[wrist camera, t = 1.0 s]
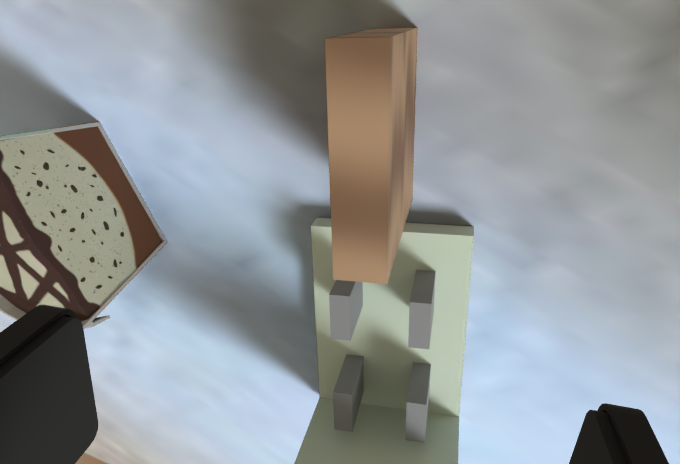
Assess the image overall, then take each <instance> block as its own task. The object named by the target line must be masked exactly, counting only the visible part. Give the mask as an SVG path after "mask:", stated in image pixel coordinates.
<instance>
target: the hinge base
mask: <svg viewBox="0 0 680 464" xmlns="http://www.w3.org/2000/svg"><path fill="white" fill-rule="evenodd" d="M473 238H474V227H471V226H454V225H437V224H420V223H405V226H404V230H403V233H402V236H401V240H400V243H399V246H398V250H397V253H396V256H395V260H394V263H393V266H392V270H391V273H390V276H389V280H388V283H387V284H379V283H367V282H356V281H344V280H333V259H332V230H331V218H319V217H317V218H316V219H315V221H314V222H313V223H312V225H311V241H312V260H313V279H314V299H315V318H316V337H317V357H318V376H319V395H320V398H319V401H318V403H317V406H316V409H315V411H314V414H313V416H312V419H311V422H310V424H309V427H308V430H307V432H306V435H305V437H304V440H303V443H302V445H301V448H300V450H299V453H298V456H297V458H296V461H295V463H294V464H458V440H459V411H460V399H461V387H462V374H463V362H464V350H465V337H466V325H467V313H468V300H469V288H470V276H471V263H472V251H473Z"/></svg>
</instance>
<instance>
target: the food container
mask: <svg viewBox="0 0 680 464" xmlns="http://www.w3.org/2000/svg"><path fill="white" fill-rule="evenodd" d="M166 243H167V241H166V239H165V237H164V235H163V233H162V232H161V230H160V228H159V226H158V225H157V223H156V221H155V219H154V218H153V216H152V214H151V212H150V210H149V209H148V207H147V205H146V203H145V202H144V200H143V198H142V196H141V194H140V193H139V191H138V189H137V187H136V186H135V184H134V182H133V180H132V178H131V177H130V175H129V173H128V171H127V170H126V168H125V166H124V164H123V163H122V161H121V159H120V157H119V155H118V154H117V152H116V150H115V148H114V147H113V145H112V143H111V141H110V139H109V138H108V136H107V134H106V132H105V131H104V129H103V127H102V125H101V123H100V122H95V123H88V124H81V125H74V126H67V127H60V128H53V129H46V130H39V131H32V132H25V133H18V134H11V135H4V136H0V311H2V312H3V313H4V314H6V315H8V316H10V317H12V318H13V319H15V320H18V319H20V318H21V317H22V316H24V315H25V314H26V313H28V312H29V311H30V310H32V309H33V308H35V307H37V306H39V305H49V306H55V307H60V308H66V309H70V310H72V311H73V312H74V313H75V314H76V318H77V319H80V321H81V322H82V325H83V329H84V328H89V327H93V326H95V325H97V324H99V323H101V322H103V321H105V320H106V319H108V318H110V316H109V315H108V316H103V317H99V318H96V317H97V316H98V315H99V314H100V312H101V311H102V310H103V309H104V308H105V307H106V306H107V305H108V304H109V303H110V302H111V301H112V300H113V299H114V298H115V297H116V296H117V295H118V294H119V292H120V291H121V290H122V289H123V288H124V287H125V286H126V285H127V284H128V283H129V282H130V281H131V280H132V279H133V278H134V277H135V276H136V275H137V274H138V272H139V271H140V270H141V269H142V268H143V267H144V266H145V265H146V264H147V263H148V262H149V261H150V260H151V259H152V258H153V257H154V256H155V255H156V254H157V252H158V251H159V250H160V249H161V248H162V247H163V246H164V245H165V244H166Z"/></svg>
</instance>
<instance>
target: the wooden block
mask: <svg viewBox="0 0 680 464" xmlns="http://www.w3.org/2000/svg"><path fill="white" fill-rule="evenodd" d="M325 59H326V87H327V116H328V145H329V173H330V202H331V230H332V259H333V280H344V281H356V282H367V283H379V284H387V283H388V280H389V276H390V273H391V270H392V266H393V263H394V260H395V256H396V253H397V250H398V246H399V243H400V240H401V236H402V233H403V230H404V226H405V223H406V220H407V216H408V213H409V210H410V206H411V203H412V195H413V162H414V128H415V95H416V62H417V28H375V29H369V30H364V31H360V32H355V33H350V34H345V35H340V36H335V37H330V38H325Z"/></svg>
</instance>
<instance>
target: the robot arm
mask: <svg viewBox="0 0 680 464" xmlns="http://www.w3.org/2000/svg"><path fill="white" fill-rule="evenodd" d="M97 430H98V418H97V412H96V406H95V400H94V393H93V387H92V381H91V375H90V368H89V362H88V356H87V350H86V343H85V337H84V331H83V325H82V322H81V321H80V319H77V318H76V314H75V313H74V312H73V311H72V310H70V309H66V308H60V307H55V306H49V305H39V306H37V307H35V308H33V309H32V310H30V311H29V312H28V313H26V314H25V315H24V316H22V317H21V318H20V319H18V320H17V321H15V322H14V323H13V324H11V325H10V326H9V327H7V328H6V329H5V330H3V331H2V332H0V464H75V463H76V462H77V460H78V459H79V458H80V456H82V454H83V453H84V452H85V451H86V449H87V448H88V447H89V446H90V444H91V443H92V442H93V440H94V438H95V436H96V433H97ZM569 464H669V463H668V461H667V459H666V457H665V455H664V453H663V451H662V449H661V447H660V445H659V442H658V440H657V438H656V436H655V434H654V432H653V430H652V428H651V426H650V424H649V422H648V420H647V418H646V416H645V414H644V413H643V412H642V411H641V410H639V409H634V408H628V407H622V406H617V405H611V404H602V405H601V406H600V407H599V409H598V411H594V410H589V411H588V412H587V414H586V416H585V419H584V422H583V425H582V428H581V431H580V434H579V436H578V439H577V442H576V445H575V448H574V451H573V454H572V457H571V460H570V462H569Z"/></svg>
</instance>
